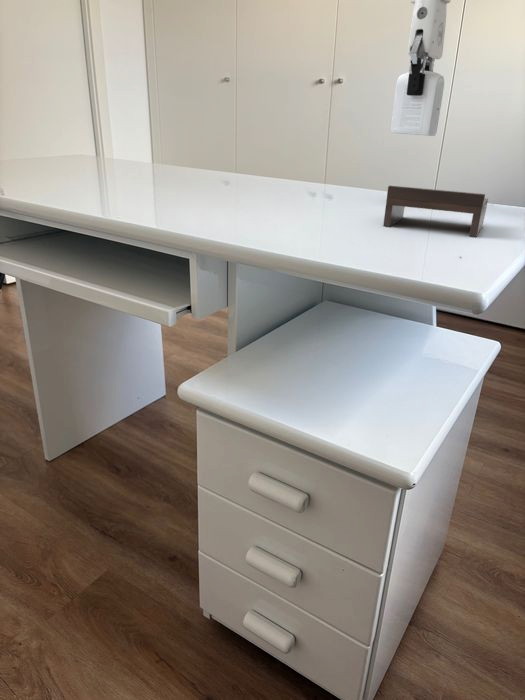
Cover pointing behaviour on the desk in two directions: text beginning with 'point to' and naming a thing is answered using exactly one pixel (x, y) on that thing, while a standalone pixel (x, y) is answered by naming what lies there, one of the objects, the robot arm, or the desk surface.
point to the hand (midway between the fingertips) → (418, 94)
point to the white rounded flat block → (417, 106)
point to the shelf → (435, 204)
